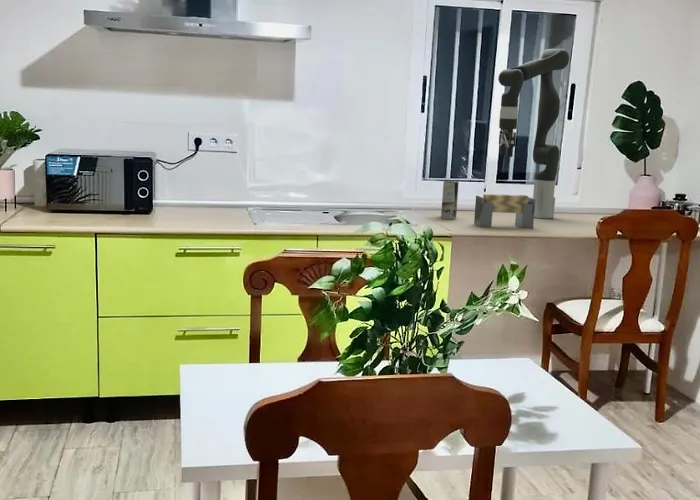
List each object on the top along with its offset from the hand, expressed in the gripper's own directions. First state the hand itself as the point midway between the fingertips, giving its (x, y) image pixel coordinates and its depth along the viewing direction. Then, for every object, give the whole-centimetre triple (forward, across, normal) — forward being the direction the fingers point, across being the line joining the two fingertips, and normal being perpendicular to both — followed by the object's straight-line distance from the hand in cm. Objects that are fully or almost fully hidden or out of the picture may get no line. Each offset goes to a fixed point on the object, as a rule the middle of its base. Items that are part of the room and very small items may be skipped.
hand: (506, 155), depth 323 cm
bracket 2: (+28, -14, -5) cm, 32 cm away
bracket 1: (+28, -14, +13) cm, 34 cm away
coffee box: (+28, +8, +22) cm, 37 cm away
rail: (+22, -14, +4) cm, 26 cm away
